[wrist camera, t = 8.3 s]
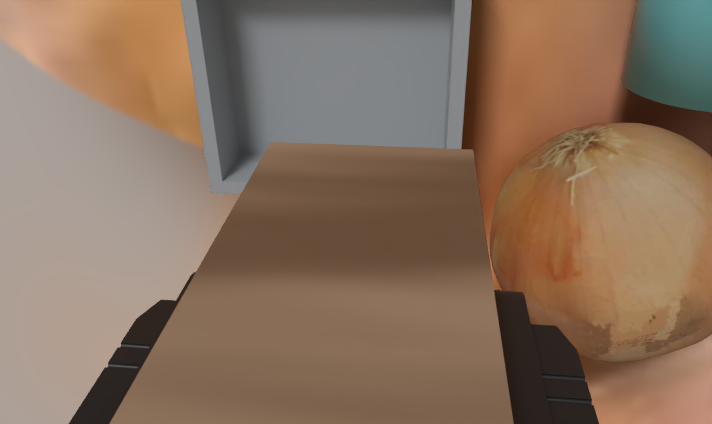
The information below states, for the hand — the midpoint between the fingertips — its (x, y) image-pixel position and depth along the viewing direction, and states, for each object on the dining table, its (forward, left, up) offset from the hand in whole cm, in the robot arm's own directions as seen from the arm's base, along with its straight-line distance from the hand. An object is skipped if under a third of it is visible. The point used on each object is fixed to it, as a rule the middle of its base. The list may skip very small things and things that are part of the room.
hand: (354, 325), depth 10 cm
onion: (+7, +9, -19) cm, 22 cm away
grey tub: (0, -3, -19) cm, 19 cm away
